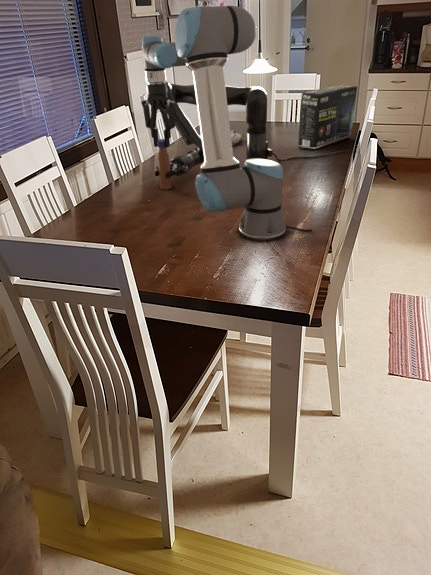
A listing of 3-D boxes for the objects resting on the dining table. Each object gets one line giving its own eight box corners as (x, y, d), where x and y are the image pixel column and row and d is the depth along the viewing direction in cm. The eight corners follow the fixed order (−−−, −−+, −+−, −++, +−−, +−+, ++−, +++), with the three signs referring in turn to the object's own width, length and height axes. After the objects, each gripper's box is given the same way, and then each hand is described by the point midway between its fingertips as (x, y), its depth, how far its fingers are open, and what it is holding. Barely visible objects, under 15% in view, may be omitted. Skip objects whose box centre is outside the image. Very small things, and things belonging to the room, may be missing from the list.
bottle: (159, 189, 190) (155, 143, 180) (161, 185, 194) (156, 140, 184) (171, 189, 190) (167, 143, 180) (172, 185, 194) (168, 140, 184)
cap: (163, 144, 185) (162, 138, 184) (169, 145, 183) (169, 140, 182) (154, 146, 183) (154, 140, 182) (161, 148, 180) (160, 142, 179)
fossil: (235, 140, 241) (216, 121, 244) (224, 157, 247) (206, 139, 251) (251, 138, 254) (233, 121, 258) (241, 154, 261) (223, 138, 264)
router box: (314, 151, 231) (318, 94, 217) (296, 148, 237) (299, 92, 224) (352, 138, 251) (358, 85, 238) (335, 135, 258) (340, 83, 245)
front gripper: (130, 83, 171) (138, 147, 183) (172, 84, 165) (177, 150, 177) (141, 81, 177) (147, 142, 189) (181, 81, 171) (185, 145, 183)
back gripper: (167, 153, 200) (145, 163, 187) (196, 156, 194) (175, 167, 182) (169, 170, 204) (147, 181, 191) (197, 173, 198) (176, 185, 185)
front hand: (162, 146), depth 183 cm, fingers closed on cap, 4 cm apart
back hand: (161, 174), depth 186 cm, fingers closed on bottle, 4 cm apart
